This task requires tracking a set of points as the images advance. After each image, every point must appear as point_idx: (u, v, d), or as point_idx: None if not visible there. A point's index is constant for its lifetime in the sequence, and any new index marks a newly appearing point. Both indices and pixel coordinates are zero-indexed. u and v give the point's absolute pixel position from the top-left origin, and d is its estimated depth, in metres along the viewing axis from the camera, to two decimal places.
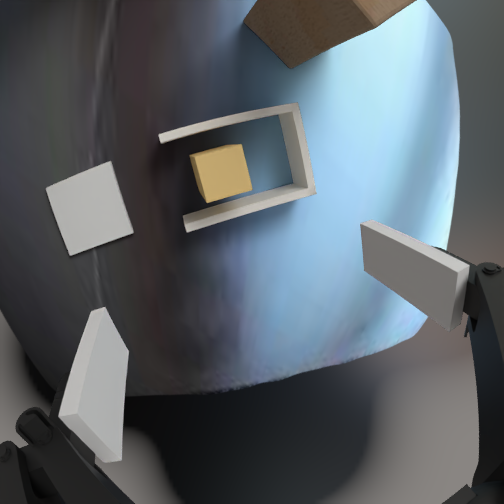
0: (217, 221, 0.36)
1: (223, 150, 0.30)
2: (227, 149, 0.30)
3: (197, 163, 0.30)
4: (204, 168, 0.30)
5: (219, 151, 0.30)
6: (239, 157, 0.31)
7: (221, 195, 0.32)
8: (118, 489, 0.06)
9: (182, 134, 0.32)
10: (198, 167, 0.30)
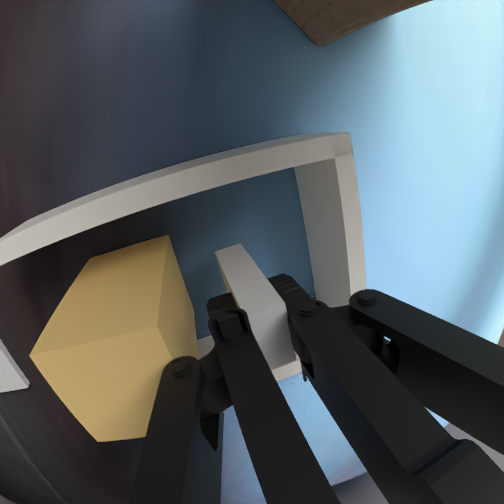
0: None
1: (100, 344, 0.08)
2: (112, 342, 0.08)
3: (42, 371, 0.08)
4: (64, 383, 0.08)
5: (89, 347, 0.08)
6: (156, 363, 0.09)
7: (125, 434, 0.10)
8: None
9: (33, 245, 0.10)
10: (48, 379, 0.08)
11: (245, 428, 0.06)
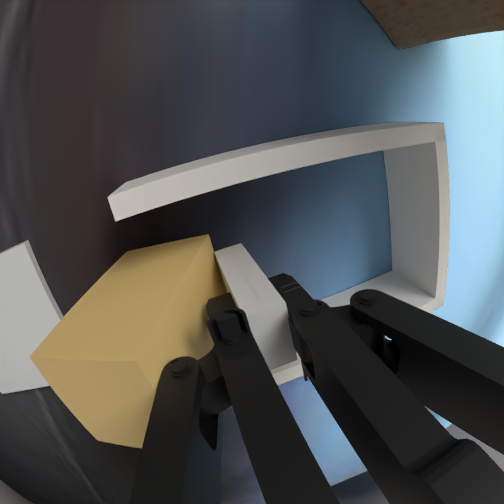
0: None
1: (86, 364, 0.08)
2: (96, 364, 0.08)
3: (42, 372, 0.08)
4: (61, 387, 0.09)
5: (77, 363, 0.08)
6: (140, 393, 0.08)
7: (121, 441, 0.10)
8: None
9: (177, 195, 0.11)
10: (48, 380, 0.09)
11: (244, 428, 0.06)
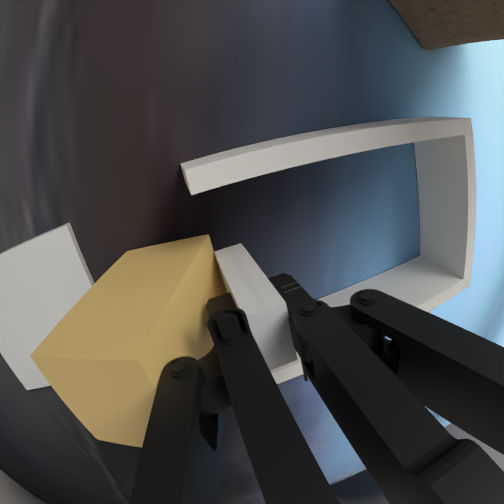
0: None
1: (87, 363, 0.08)
2: (97, 363, 0.08)
3: (42, 371, 0.08)
4: (61, 386, 0.09)
5: (77, 362, 0.08)
6: (141, 392, 0.08)
7: (121, 440, 0.10)
8: None
9: (254, 171, 0.12)
10: (48, 379, 0.09)
11: (244, 429, 0.06)
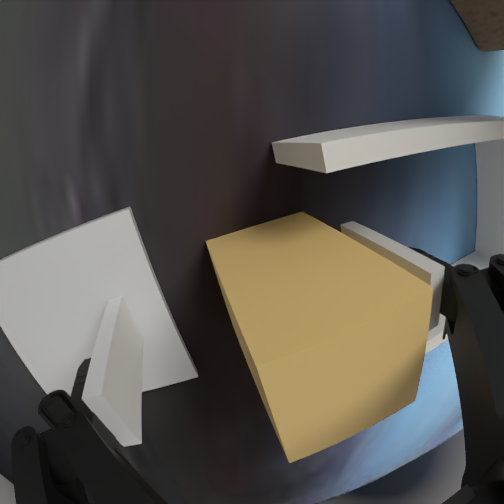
0: None
1: (375, 322, 0.07)
2: (389, 315, 0.07)
3: (267, 385, 0.07)
4: (296, 394, 0.07)
5: (361, 328, 0.07)
6: (415, 334, 0.07)
7: (333, 440, 0.08)
8: (138, 475, 0.07)
9: (386, 153, 0.10)
10: (271, 396, 0.07)
11: None
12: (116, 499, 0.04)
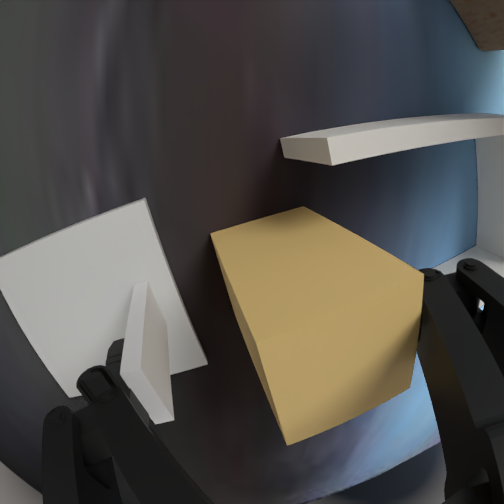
0: None
1: (368, 304, 0.07)
2: (381, 299, 0.07)
3: (266, 362, 0.07)
4: (293, 372, 0.08)
5: (354, 310, 0.07)
6: (407, 319, 0.08)
7: (329, 423, 0.09)
8: (170, 454, 0.07)
9: (387, 148, 0.10)
10: (269, 374, 0.07)
11: (134, 485, 0.05)
12: (149, 477, 0.05)
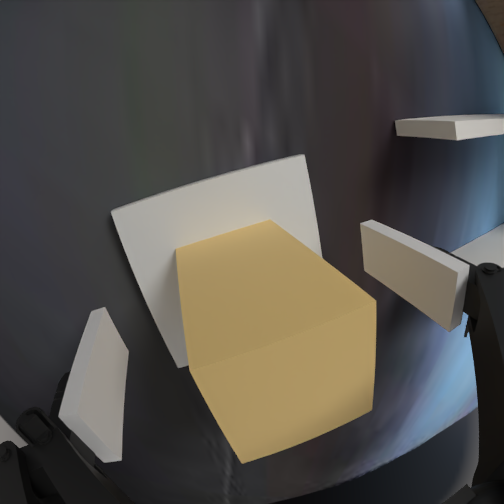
0: None
1: (309, 334, 0.07)
2: (325, 328, 0.07)
3: (204, 389, 0.07)
4: (234, 398, 0.07)
5: (293, 340, 0.07)
6: (359, 346, 0.08)
7: (284, 444, 0.09)
8: (118, 489, 0.06)
9: (480, 133, 0.12)
10: (209, 399, 0.07)
11: None
12: None
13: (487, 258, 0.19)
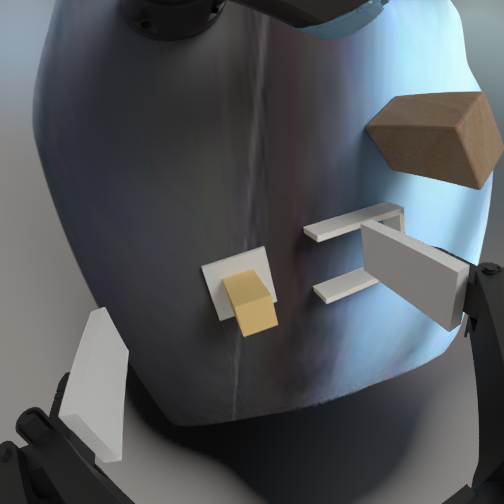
0: (346, 294, 0.49)
1: (256, 300, 0.39)
2: (260, 299, 0.39)
3: (236, 311, 0.39)
4: (242, 314, 0.39)
5: (253, 301, 0.39)
6: (269, 304, 0.40)
7: (254, 331, 0.41)
8: (118, 489, 0.06)
9: (333, 235, 0.45)
10: (237, 314, 0.39)
11: None
12: None
13: (355, 279, 0.51)
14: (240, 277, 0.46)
